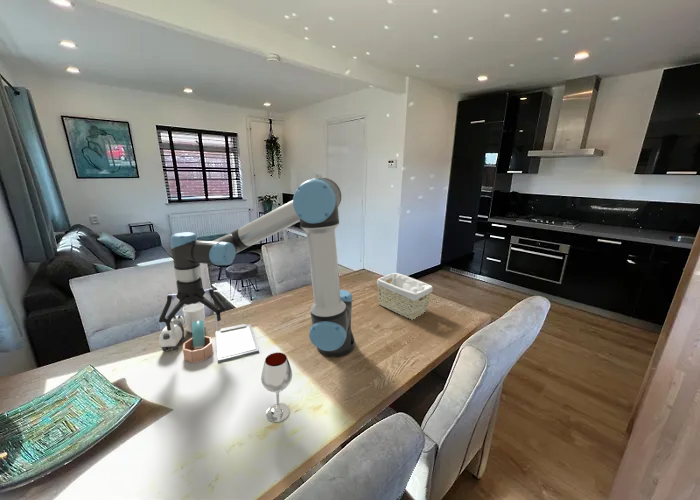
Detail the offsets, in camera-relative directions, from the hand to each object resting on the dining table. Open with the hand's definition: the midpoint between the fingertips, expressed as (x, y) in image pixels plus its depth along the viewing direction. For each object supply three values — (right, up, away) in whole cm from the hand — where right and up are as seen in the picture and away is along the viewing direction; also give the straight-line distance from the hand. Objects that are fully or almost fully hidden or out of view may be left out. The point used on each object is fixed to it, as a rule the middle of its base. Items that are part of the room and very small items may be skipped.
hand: (196, 333), depth 100 cm
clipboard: (+10, -7, +10) cm, 16 cm away
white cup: (-10, -4, +18) cm, 21 cm away
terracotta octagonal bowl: (0, -8, +2) cm, 9 cm away
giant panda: (-12, -6, +8) cm, 16 cm away
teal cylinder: (0, -7, +1) cm, 7 cm away
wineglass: (+35, -17, -21) cm, 44 cm away
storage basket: (+82, 0, +43) cm, 92 cm away
